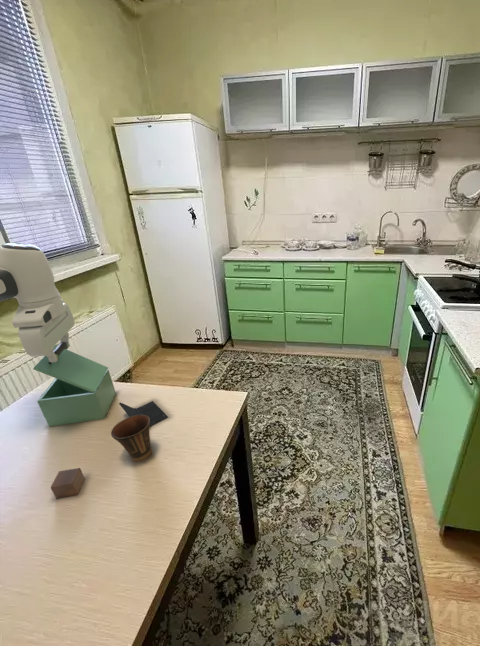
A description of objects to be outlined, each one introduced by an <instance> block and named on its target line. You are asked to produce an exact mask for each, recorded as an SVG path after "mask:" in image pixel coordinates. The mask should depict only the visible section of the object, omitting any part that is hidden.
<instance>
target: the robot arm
mask: <svg viewBox="0 0 480 646" xmlns="http://www.w3.org/2000/svg"><path fill="white" fill-rule="evenodd" d="M10 299H16V300H17V303H18V307H17V310H16V312H15V315H14V316H13V318H12V320H11V323H12V327H14V328H15V329H18V330H17V334H18V337H19V340H20V342H21V345H22V347H23V349H24V352H25V353H26V354H27V356H30V357H32V358H34V357H44V356H46V357H48V359H49V362H51V363H53V362H57V361H58V359H59V357H58V354H55V353H54V352H53V350H54V349H53V347H54V346H55V345H57V344H58V343H59V342H60V343H61V342H65V343H67V347H66V348H65V349H67V350H68V349H69V348H70V347H71V345H70V333H69V331H71V330H72V329H73V327H74V326H75V323H76V322H75V318H74V316H73V315H74V314H73V312H72V311H71V308H70V306H69V305H68V303H65V300H64V299H63V298H62V296H61V294H60V291H59V289H58V288H57V287H56V284H55V275H54V273H53V270H52V268H51V265H50V263H49V260H48V258H47V256H46V255H45V253H44V251H43V250H42V249H41V248H40V247H38V246H37V245H35V244H32V243H31V244H30V243H26V242H9V243H4V244H1V245H0V303H1V302H4V301H7V300H10Z"/></svg>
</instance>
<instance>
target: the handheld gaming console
mask: <svg viewBox="0 0 480 646" xmlns="http://www.w3.org/2000/svg"><path fill="white" fill-rule="evenodd" d="M118 405H119V406H120V407H121V409H122V410H123V411H124V413H126V414H127V416H128V418H129V417H131V416H136V415H146V416H148V417H149V418H150V427H149V428H151V427H154V426H155V425H157V424H159V423H161V422H162V421H165V420H166V419H169V416H168V415H167V414H166V413H165V412H164V410H162V409H161V408H160V407H159V405H157V403H156V402H155V401H154V400H151V401H150V402H147V403H146V404H143V405H141V406H139V407H132V406H130V405H128V404H125V403H123V402H119V403H118Z"/></svg>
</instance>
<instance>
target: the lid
mask: <svg viewBox="0 0 480 646" xmlns="http://www.w3.org/2000/svg"><path fill="white" fill-rule="evenodd" d="M66 347H67V343H65V342H61V341H60V343H59V344H58V345H57V344H56V345H55V346H54V347H53V349H54V350H53V352H54V353H55V354H58V357H59V359H58V361H57V362H53V363H51V362H49V359H48V357H46V356H45V355H44V356H42V358H41V359H40V360H39V361H38V362H37V363H36V364H35V366H33V368H32V370H34V371H36V372H39V373H42V374H44V375H47V376H49V377H51V378H54V379H55V378H57V379H59V380H62V381H64V382H67V383H69V384H72V385H74V386H77V387H79V388H82V389H85V390H87V391H90V392H92V393H95V391H96V389H97V387H98V386H99V384H100V382H101V380H102V378H103V377H104V375H105V373H106V371H107V370H109V367H108V366H106V365H103V364H101V363H99V362H97V361H94V360H92V359H89V358H88V357H85V356H83V355H81V354H78V353H76V352H73V351H72V350H68V349H65V348H66Z"/></svg>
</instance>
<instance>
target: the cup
mask: <svg viewBox="0 0 480 646" xmlns="http://www.w3.org/2000/svg"><path fill="white" fill-rule="evenodd" d="M150 428H151V427H150V418H149V417H148V416H146V415H136V416H131V417H129V416H128V417H126V418H124V419H123V420H121V421H120V422H118V423H117V424H115V426H114V427H113V428H112V429H111V431H110V435H111V437H112V439H114V440H115V441H117V443H119V444H120V445H121V446H122V447H123V449H124V450H125V451H126V452H127V454H128V456H129V457H130V459H131V460H132V461H134V462H136V463H140V462H143V461H145V460H147V459H149V457H151V455H152V454H153V449H152V444H151V438H150V436H151V435H150Z"/></svg>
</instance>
